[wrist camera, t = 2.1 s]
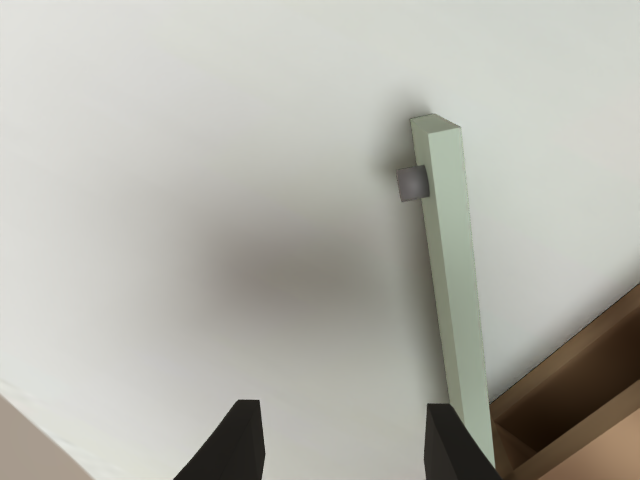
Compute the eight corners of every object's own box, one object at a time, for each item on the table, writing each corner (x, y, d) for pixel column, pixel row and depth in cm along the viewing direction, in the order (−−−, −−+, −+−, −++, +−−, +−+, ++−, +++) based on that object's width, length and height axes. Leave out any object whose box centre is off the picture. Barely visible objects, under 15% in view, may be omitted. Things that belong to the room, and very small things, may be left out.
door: (471, 420, 23) (498, 499, 19) (433, 424, 23) (451, 503, 19) (434, 113, 18) (460, 127, 13) (385, 124, 18) (395, 140, 14)
